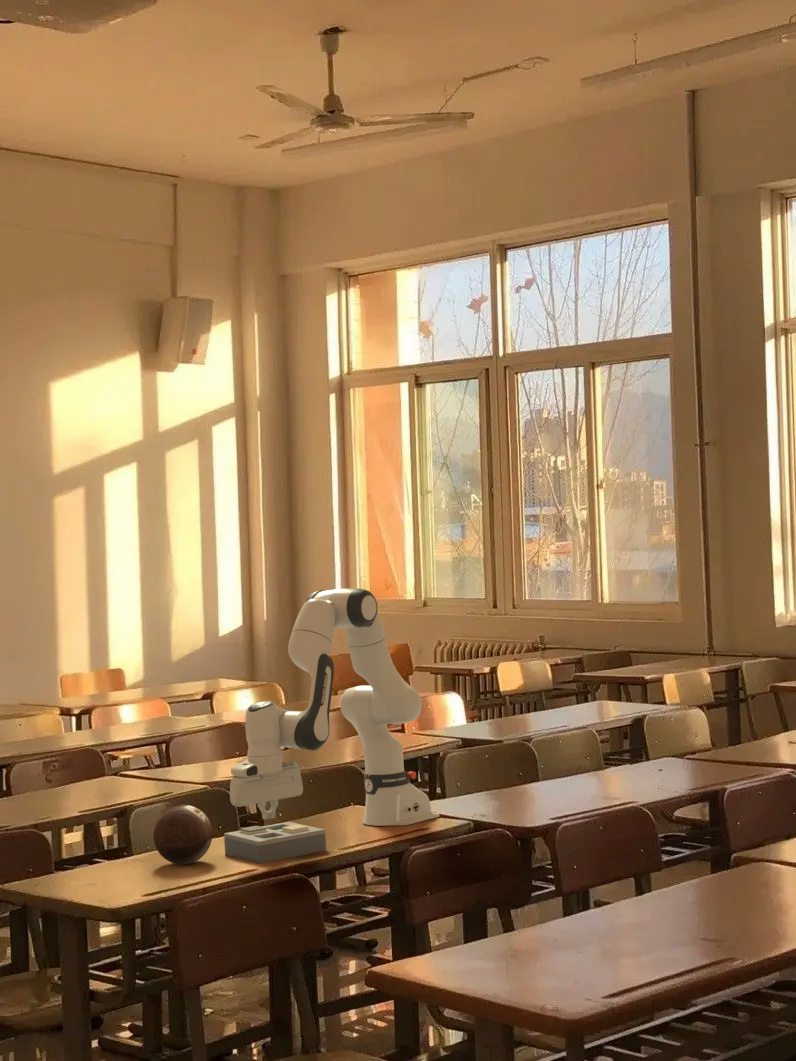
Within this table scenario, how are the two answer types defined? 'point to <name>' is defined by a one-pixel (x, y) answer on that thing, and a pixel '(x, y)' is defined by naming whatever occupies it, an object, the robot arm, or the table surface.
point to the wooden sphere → (182, 834)
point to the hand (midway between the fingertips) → (268, 818)
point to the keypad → (274, 843)
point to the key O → (252, 830)
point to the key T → (295, 829)
